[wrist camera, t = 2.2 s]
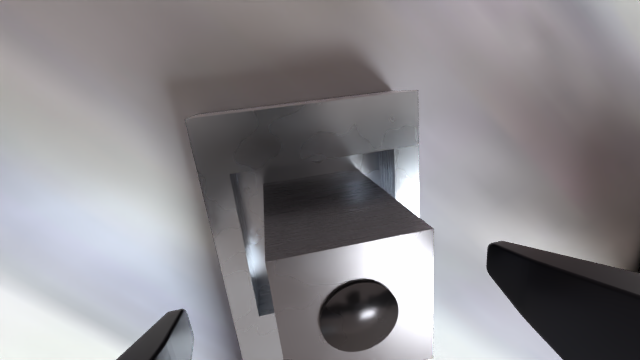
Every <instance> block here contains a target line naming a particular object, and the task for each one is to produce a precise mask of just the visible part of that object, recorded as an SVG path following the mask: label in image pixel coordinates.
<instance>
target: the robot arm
mask: <svg viewBox="0 0 640 360" xmlns="http://www.w3.org/2000/svg"><path fill="white" fill-rule="evenodd" d="M486 266H487V271H488V273H489V275H490V276H491V277H492V279H493V280H494V281H495V283H496V284H497V285H498V286H499V288H500V289H501V290H502V291H503V293H504V294H505V295H506V296H507V298H508V299H509V300H510V301H511V303H512V304H513V305H514V307H515V308H516V309H517V310H518V311H519V313H520V314H521V315H522V316H523V317H524V319H525V320H526V321H527V322H528V323H529V324H530V325H531V326H532V327H533V328H534V329H535V331H536V332H537V333H538V334H539V335H540V336H541V337H542V338H543V339H544V340H545V341H546V342H547V343H548V344H549V345H550V346H551V348H552V349H553V350H554V351H555V352H556V353H557V354H558V355H559V356H560V357H561V358H562V359H563V360H640V269H639V273H636V272H632V271H628V270H624V269H619V268H615V267H611V266H607V265H603V264H598V263H594V262H590V261H586V260H581V259H577V258H573V257H569V256H564V255H560V254H556V253H552V252H548V251H543V250H539V249H535V248H531V247H526V246H522V245H518V244H514V243H510V242H505V241H499V242H494V243H491V244H489V246H488V249H487V265H486ZM193 343H194V337H193V331H192V328H191V325H190V321H189V318H188V314H187V312H186V310H184V309H179V310H174V311H170V312H168V313H166V314H165V315H164V316H163V317H162V318H161V319H160V320H159V321H158V322H157V323H155V324H154V325H153V326H152V327H151V328H150V329H149V330H148V331H147V332H146V333H145V334H144V335H142V336H141V337H140V338H139V339H138V340H137V341H136V342H135V343H134V344H133V345H132V346H131V347H129V348H128V349H127V350H126V351H125V352H124V353H123V354H122V355H121V356H120V357H119V358H118V359H116V360H191V359H192V351H193Z"/></svg>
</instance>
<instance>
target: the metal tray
mask: <svg viewBox="0 0 640 360" xmlns="http://www.w3.org/2000/svg"><path fill="white" fill-rule="evenodd" d="M185 123H186V127H187V131H188V135H189V139H190V143H191V148H192V152H193V156H194V160H195V164H196V168H197V172H198V177H199V181H200V185H201V189H202V193H203V197H204V201H205V206H206V210H207V214H208V218H209V222H210V226H211V230H212V235H213V239H214V243H215V247H216V251H217V255H218V259H219V264H220V268H221V272H222V276H223V280H224V284H225V288H226V293H227V297H228V301H229V305H230V309H231V313H232V317H233V322H234V326H235V330H236V334H237V338H238V342H239V346H240V351H241V355H242V359H243V360H283V354H282V349H281V344H280V338H279V333H278V328H277V323H276V317H275V312H274V307H273V301H272V296H271V291H270V285H269V280H268V275H267V270H266V264H265V238H264V200H263V184H264V183H270V182H277V181H283V180H289V179H295V178H302V177H308V176H314V175H320V174H327V173H333V172H339V171H346V170H352V169H358V170H359V171H361V172H362V173H363V174H364V175H366V176H367V177H368V178H370V179H371V180H372V181H373V182H375V183H376V184H377V185H378V186H380V187H381V188H382V189H384V190H385V191H386V192H387V193H389V194H390V195H391V196H392V197H394V198H395V199H396V200H398V201H399V202H400V203H401V204H403V205H404V206H405V207H406V208H408V209H409V210H410V211H412V212H413V213H414V214H415V215H417V216H418V217H419V218H420V209H419V113H418V90H402V91H386V92H377V93H369V94H361V95H353V96H344V97H336V98H328V99H320V100H312V101H303V102H295V103H287V104H279V105H270V106H262V107H254V108H246V109H237V110H229V111H221V112H213V113H204V114H197V115H195V116H192V117H189V118H186V119H185Z"/></svg>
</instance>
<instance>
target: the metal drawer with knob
mask: <svg viewBox="0 0 640 360" xmlns="http://www.w3.org/2000/svg"><path fill="white" fill-rule="evenodd" d="M263 200H264V238H265V264H266V270H267V275H268V280H269V285H270V291H271V296H272V301H273V307H274V312H275V317H276V323H277V328H278V333H279V338H280V344H281V349H282V354H283V360H428V359H432V358H433V249H434V229H433V228H432V227H431V226H429V225H428V224H427V223H426V222H424V221H423V220H422V219H420V218H419V217H418V216H417V215H415V214H414V213H413V212H412V211H410V210H409V209H408V208H406V207H405V206H404V205H403V204H401V203H400V202H399V201H398V200H396V199H395V198H394V197H392V196H391V195H390V194H389V193H387V192H386V191H385V190H384V189H382V188H381V187H380V186H378V185H377V184H376V183H375V182H373V181H372V180H371V179H370V178H368V177H367V176H366V175H364V174H363V173H362V172H361V171H359V170H358V169H352V170H346V171H339V172H333V173H327V174H320V175H314V176H308V177H302V178H295V179H289V180H283V181H277V182H270V183H264V184H263Z"/></svg>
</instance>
